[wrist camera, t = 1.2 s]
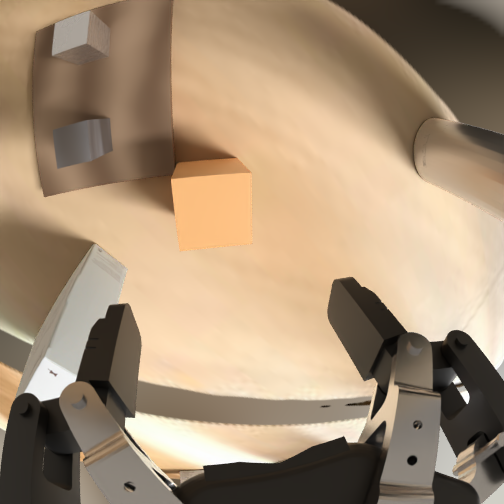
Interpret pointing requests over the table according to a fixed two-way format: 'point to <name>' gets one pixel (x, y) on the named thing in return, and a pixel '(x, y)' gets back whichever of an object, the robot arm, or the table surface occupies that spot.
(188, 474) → the ink cartridge box
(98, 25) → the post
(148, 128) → the post board
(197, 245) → the peach wooden cube
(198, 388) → the table surface
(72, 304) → the skincare box
